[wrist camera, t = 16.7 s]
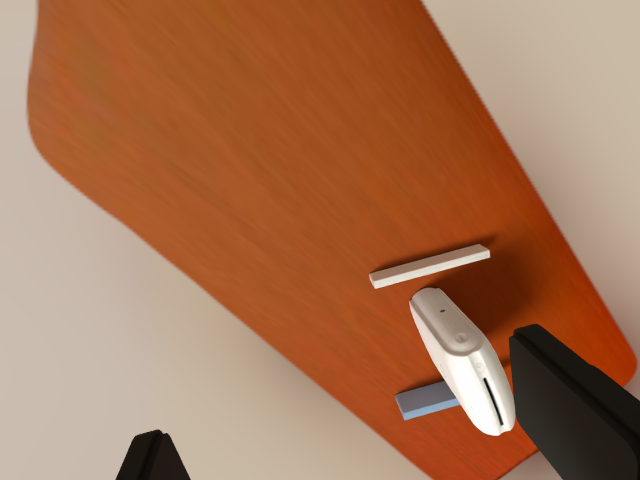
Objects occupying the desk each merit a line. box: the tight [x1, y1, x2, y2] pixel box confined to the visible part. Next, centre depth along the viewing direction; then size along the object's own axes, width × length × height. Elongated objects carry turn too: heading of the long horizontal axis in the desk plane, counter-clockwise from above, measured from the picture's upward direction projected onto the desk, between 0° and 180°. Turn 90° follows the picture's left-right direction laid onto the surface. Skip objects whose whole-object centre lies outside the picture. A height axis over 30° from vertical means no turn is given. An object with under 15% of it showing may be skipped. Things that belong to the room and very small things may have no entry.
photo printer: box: [409, 288, 515, 436], centre depth 38 cm, size 10×4×12 cm, turn 25°
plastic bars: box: [369, 244, 490, 420], centre depth 42 cm, size 17×12×3 cm
